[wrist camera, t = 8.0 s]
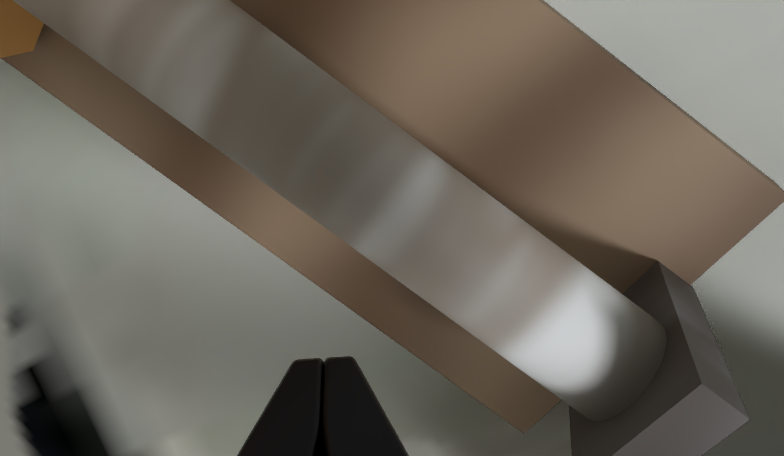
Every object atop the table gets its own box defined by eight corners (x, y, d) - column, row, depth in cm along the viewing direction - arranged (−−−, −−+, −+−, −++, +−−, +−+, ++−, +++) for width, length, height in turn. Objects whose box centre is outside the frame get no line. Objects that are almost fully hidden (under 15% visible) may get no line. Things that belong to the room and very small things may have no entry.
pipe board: (779, 185, 17) (897, 310, 12) (526, 414, 22) (521, 588, 16) (-25, -445, 15) (-362, -672, 10) (-126, -56, 20) (-401, -53, 14)
